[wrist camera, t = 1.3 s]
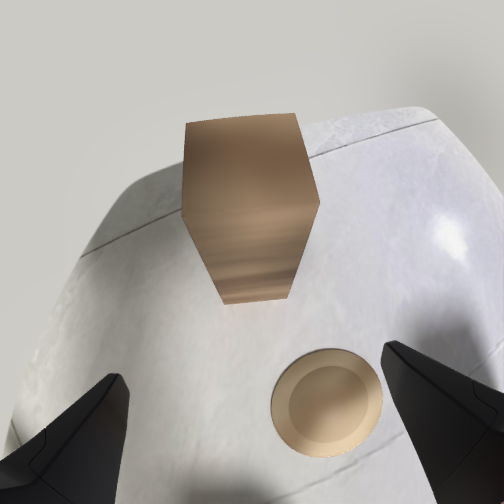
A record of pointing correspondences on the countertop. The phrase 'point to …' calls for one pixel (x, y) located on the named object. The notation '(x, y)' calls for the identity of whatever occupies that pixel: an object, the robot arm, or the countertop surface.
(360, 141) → the countertop surface
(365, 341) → the countertop surface
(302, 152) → the walnut block
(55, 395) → the countertop surface
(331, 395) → the plate
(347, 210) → the countertop surface
